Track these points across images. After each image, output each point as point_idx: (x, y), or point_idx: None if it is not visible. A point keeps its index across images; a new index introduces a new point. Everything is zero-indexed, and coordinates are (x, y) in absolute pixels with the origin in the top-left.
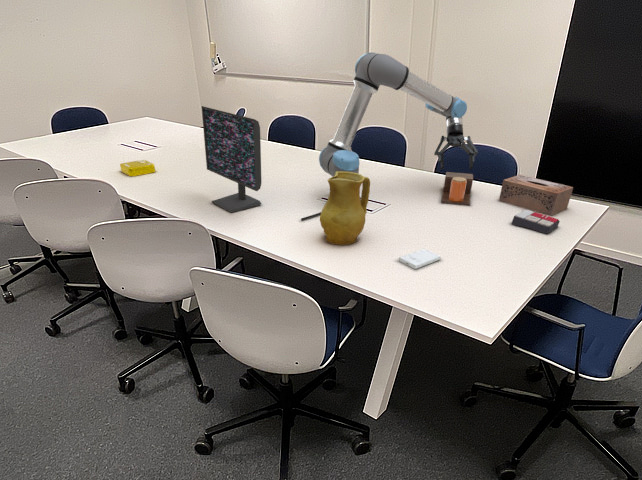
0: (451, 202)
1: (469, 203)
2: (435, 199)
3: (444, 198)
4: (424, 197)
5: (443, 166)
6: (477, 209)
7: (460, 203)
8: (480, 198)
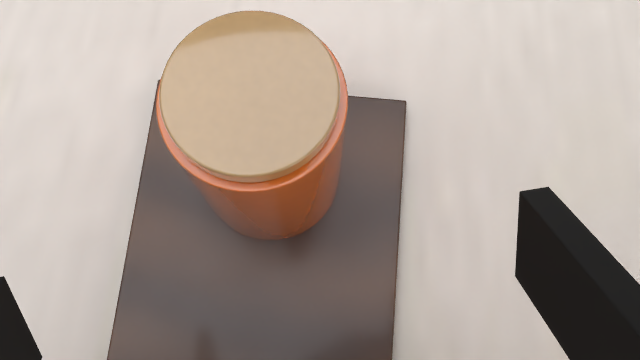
0: None
1: None
2: (455, 198)
3: (378, 177)
4: None
5: (525, 199)
6: (114, 18)
7: None
8: None
